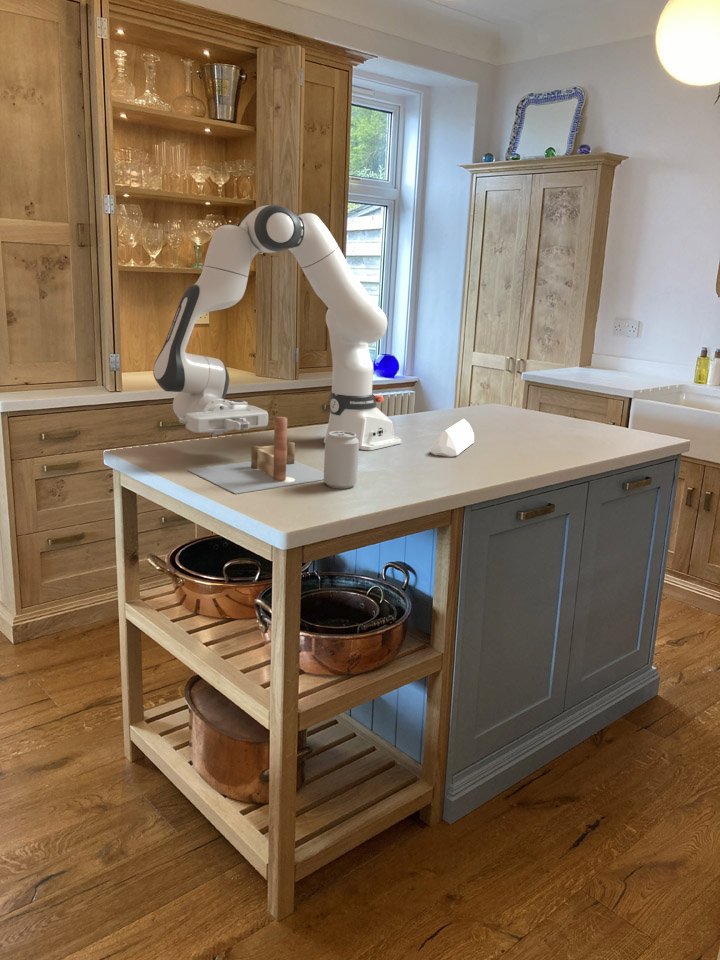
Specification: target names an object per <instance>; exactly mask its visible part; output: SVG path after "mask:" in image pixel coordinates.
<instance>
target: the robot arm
mask: <svg viewBox="0 0 720 960" xmlns="http://www.w3.org/2000/svg"><path fill="white" fill-rule="evenodd" d="M207 247H208V248H207V251H206V254H205V258H204V263H203V266H202V271H201V273H200V276H199V278H198V279H197V281H196V282H195V283H194V284H193V285H190V286H188V287H186V290H185V291H184V293H183V295H182V296H181V299H180V302H179V303H178V306H177V308H176V311H175V313H174V317H173V320H172V323H171V325H170V327H169V331H168V333H167V336H166V339H165V340H164V344H163V346H162V349H161V350H160V352H159V354H158V355H157V357H156V360H155V362H154V365H153V371H152V372H153V378H154V379H155V381H156V383H157V385H158V386H159V387H160V388H161V389H162V390H163V391H164V392H171V393H172V392H174V393H177V394H176V395H175V396H174V398H173V401H172V409H173V412H174V413H175V416H177V418H178V422H179V423H182V424H185V428H186V429H187V430H188V431H189V432H192V433H194V434H195V433H196V434H202V433H209V434H211V435H215V436H217V435H222V434H224V433H225V432H229V431H234V430H235V431H245V430H250V429H253V428H264V427H267V426H268V423H269V413H268V411H267V410H265V409H263V408H260V407H258V406H255V405H251V404H249V403H248V402H247V401H245V400H235V399H234V400H232V399H231V400H230V399H225V397H226V395H227V392H228V389H229V386H230V385H229V384H230V376H229V371H228V369H227V366H226V364H225V363H224V362H223V361H222V360H221V358H215V357H210V356H206V355H199V354H195V353H188V352H186V349H187V346H188V344H189V341H190V337H191V335H192V332H193V330H194V328H195V324H196V322H197V321H198V319H199V318H200V317H201V316H203V315H205V314H206V313H211V312H214V311H219V310H221V311H222V310H224V309H225V310H227V309H229V308H231V307H233V306H235V305H236V304H237V303H239V302H240V301H241V300H242V299H243V297H244V295H245V292H246V289H247V284H248V280H249V275H250V274H249V273H250V269H251V265H252V261H253V259H254V258H255V256H256V255H257V254H273V253H277V252H282V251H287V250H288V251H289V252H290V253H291V254H292V255H293V256H294V257H295V259H296V261H297V264H298V265H299V267H300V268H301V270H302V272H303V274H304V276H305V277H306V279H307V281H308V282H309V284H310V286H311V288H312V290H313V291H314V293H315V294H316V295H317V297H318V298H320V299H321V301H322V302H323V304H324V305H325V306H326V307H327V311H326V313H325V323H326V326H327V329H328V335H329V343H330V352H331V359H332V361H331V362H332V375H331V376H332V378H331V379H332V380H331V391H330V394H329V411H330V412H329V419H328V424H327V429H326V433H325V435H324V440H323V443H324V444H325V439H326V438H327V437H328V436H329V434H328V433H329V432H332V431H348V432H353V433H355V434H356V438H357V439H358V441H359V450H362V451H373V450H378V449H383V448H387V447H392V446H396V445H399V444H402V438H400V437H398V436H396V435H395V433H394V429H395V428H394V424H393V420H391V419H390V417H388V416H387V415H386V414H385V413H384V412H382V411H381V410H380V409H379V408H378V407H377V403H379V404H381V403H383V402H384V401H385V398H384V397H383V395H379V394H376V395H375V394H374V393H373V381H374V363H373V360H372V358H371V352H370V347H369V344H374V343H376V342H378V341H380V340H381V339H382V338H383V337H384V336H385V334H386V332H387V329H388V318H387V315H386V313H385V312H384V311H383V310H382V309H381V308H380V306H379V305H378V304H377V303H376V301H374V299H373V297H371V294H370V293H369V291H367V289H366V288H365V286H363V284H362V283H361V281H360V280H359V279H358V277H357V276H356V275H355V274H354V273H355V272H353V270H352V268H351V266H350V264H349V263H348V261H347V259H346V258H345V256H344V254H343V251H342V250H341V248H340V246H339V244H338V242H337V241H336V240H335V237H334V236H333V235H332V233H331V231H330V230H329V228H328V227H327V226H326V224H325V223H324V222H323V221H322V219H321V218H320V217H319V216H318V214H315V213H312V212H307V213H306V212H305V213H302V214H298V215H297V214H296V213H294V212H293V211H291V210H290V209H288V208H287V207H285V206H283V205H280V204H279V205H278V204H271V205H262V206H258V207H257V208H256V209H253V210H251V211H249V212H247V213H246V214H245V215H244V216H243V217H242V218H241V220H240V221H239V222H238V223H237V224H236V225H235V224H234V225H233V224H225V225H224V224H223V225H220V226H218V227H217V228H216V229H215V231H214V232H213V235H212V237H211V239H210V242H209V245H208V246H207Z"/></svg>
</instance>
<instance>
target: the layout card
mask: <svg viewBox="0 0 720 960" xmlns="http://www.w3.org/2000/svg"><path fill="white" fill-rule="evenodd" d="M186 471H187V472H188V473H191V474H194V475H196V476H197V477H200V478H201V479H204V480H205V481H208V482H210V483H212V484H214V485H216V486H218V487H220V488H222V489H224V490H226V491H228V492H230V493H233V494H234V495H237V494H238V495H239V493H240V494H244V493H245V492H246V493H251V492H252V491H253V492H258V491H264V490H270V489H276V488H277V489H278V488H282V487H283V488H284V487H289V486H290V487H291V486H296V485H302V484H309V483H314V482H321V481H324V471H322V470H320V469H317V468H314V467H312V466H310V465H306V464H304V463H301V462H299V461H296V460H294V464H286V480H283V481H277V480H274V479H273V477H272V476H271V475H269V474H267V473H265V472H263V471H261V470H260V469H253V468H251V460H250V461H242V462H234V463H229V464H219V465H210V466H205V467H204V466H203V467H197V468H189V469H186Z"/></svg>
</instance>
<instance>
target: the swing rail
mask: <svg viewBox="0 0 720 960" xmlns="http://www.w3.org/2000/svg"><path fill="white" fill-rule="evenodd" d="M273 432H274V434H273V436H274V439H273V445H274V455H273V454H271V453H269V452H267V451H265V450H263V449H258V458H257V468H258V469H260V470H261V471H263V472H265V473H267V474H269V475H271V476H272V477H273V479H274V480H277V481H283V480H286V454H287V442H288V417H286V416H275V417H274V431H273Z"/></svg>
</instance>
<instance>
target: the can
mask: <svg viewBox="0 0 720 960" xmlns="http://www.w3.org/2000/svg"><path fill="white" fill-rule="evenodd" d="M328 434H329V436H328V437H327V438H326V439H325V438H324V439H325V443H324V459H323V460H324V461H323V462H324V463H323V472H324V480H323V483H324V484H326V486H328V487H330V488H332V489H339V490H340V489H343V490H344V489H350V488H353V487H354V486H355V485H356V484H357V483H358V465H359V464H358V463H359V450H360V449H359V441H358V439H357V438H356V434H355V433H353V432H348V431H332V432H329V433H328Z"/></svg>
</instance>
